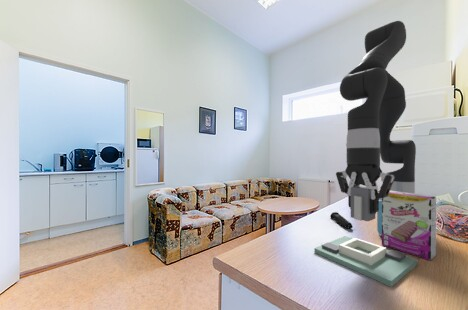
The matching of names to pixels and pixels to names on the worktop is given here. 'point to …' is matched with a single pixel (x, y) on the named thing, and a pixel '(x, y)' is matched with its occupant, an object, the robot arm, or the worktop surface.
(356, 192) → the plug
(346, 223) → the electric trimmer
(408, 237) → the candy bar box
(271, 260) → the worktop surface
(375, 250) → the board
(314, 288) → the worktop surface
